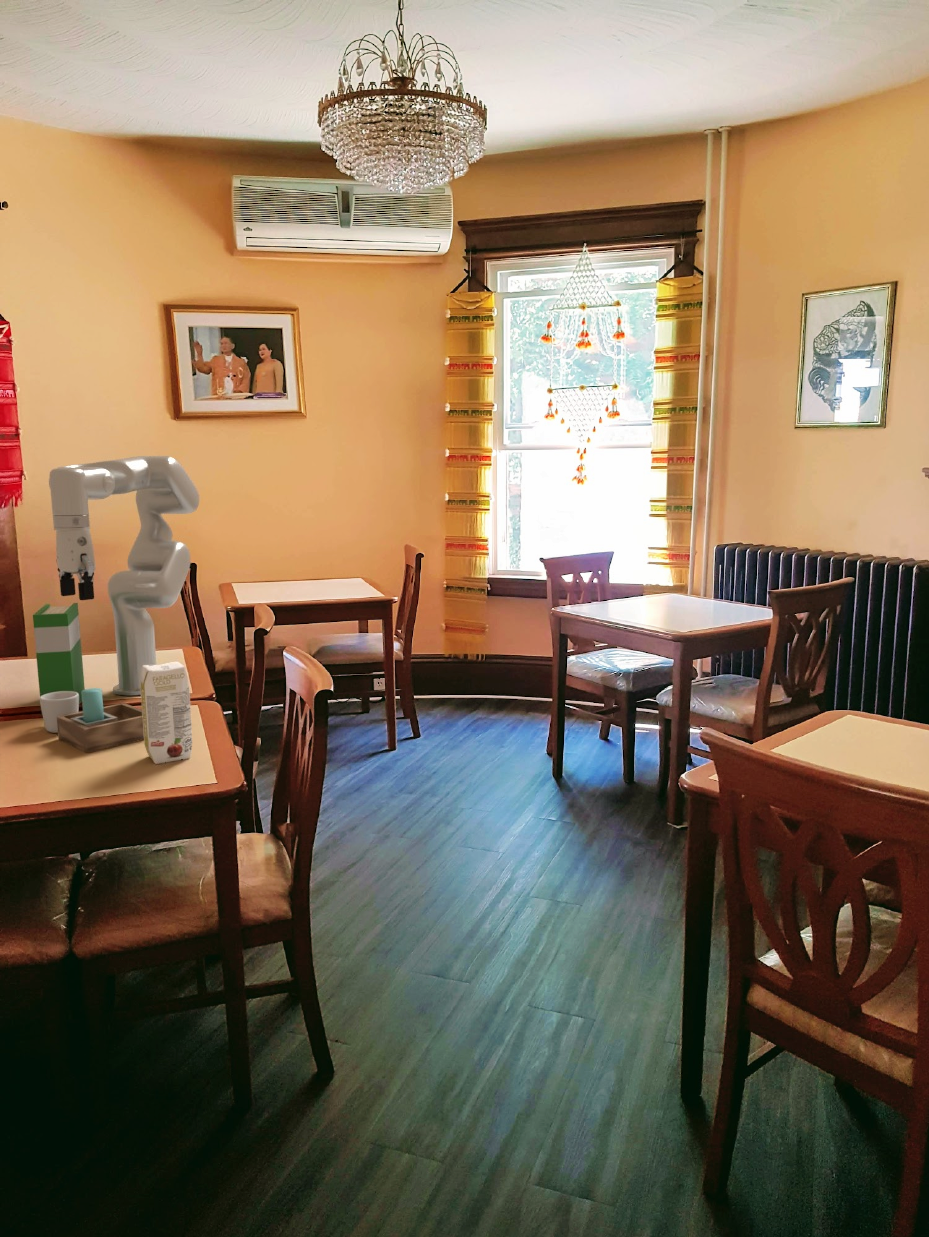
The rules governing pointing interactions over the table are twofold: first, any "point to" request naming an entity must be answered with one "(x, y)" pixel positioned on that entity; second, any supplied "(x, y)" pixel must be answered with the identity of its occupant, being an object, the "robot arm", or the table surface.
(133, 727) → the box
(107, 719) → the socket
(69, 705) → the cup
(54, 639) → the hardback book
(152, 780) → the table surface
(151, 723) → the juice carton
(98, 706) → the plug
